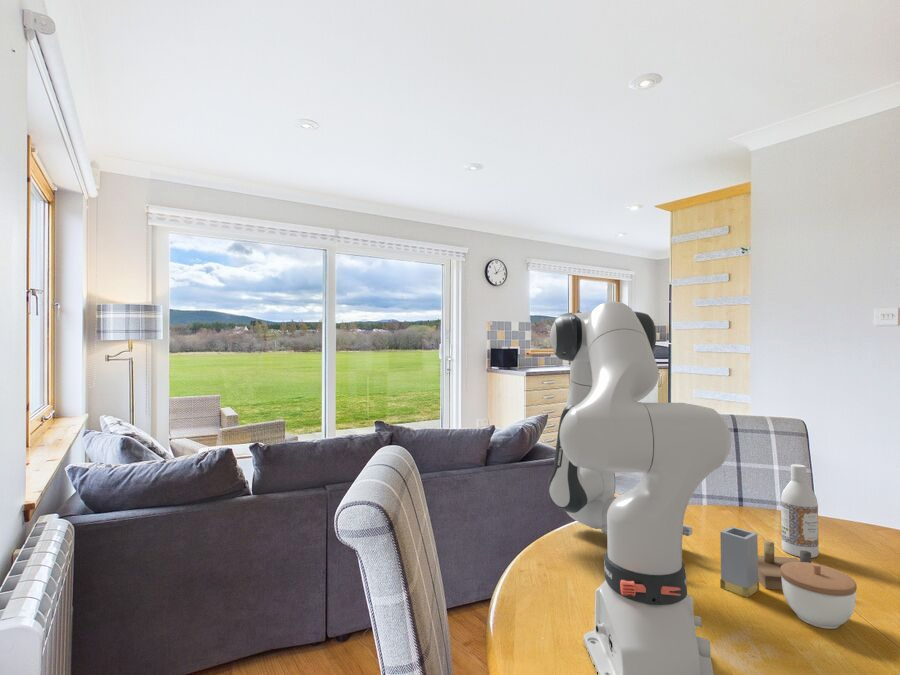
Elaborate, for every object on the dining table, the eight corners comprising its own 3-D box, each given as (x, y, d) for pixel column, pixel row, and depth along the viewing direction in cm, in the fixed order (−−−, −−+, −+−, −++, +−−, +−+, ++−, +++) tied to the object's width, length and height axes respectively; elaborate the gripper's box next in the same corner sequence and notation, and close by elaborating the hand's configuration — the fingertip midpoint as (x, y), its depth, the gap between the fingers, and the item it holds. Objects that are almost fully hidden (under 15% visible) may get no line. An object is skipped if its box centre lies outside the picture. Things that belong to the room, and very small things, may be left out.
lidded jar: (784, 597, 94) (783, 547, 94) (857, 616, 87) (856, 563, 88) (777, 621, 86) (776, 567, 86) (857, 645, 79) (856, 586, 79)
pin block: (822, 593, 96) (822, 559, 96) (765, 588, 98) (764, 555, 98) (797, 569, 105) (796, 539, 105) (745, 566, 107) (745, 536, 107)
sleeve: (747, 597, 94) (746, 539, 94) (720, 587, 98) (719, 531, 98) (759, 589, 97) (758, 533, 97) (732, 580, 101) (731, 526, 101)
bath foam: (799, 559, 110) (797, 469, 111) (774, 547, 117) (773, 462, 117) (826, 557, 111) (825, 468, 112) (800, 545, 118) (799, 461, 118)
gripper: (596, 515, 113) (652, 533, 101) (647, 497, 125) (702, 512, 114) (596, 542, 112) (652, 564, 101) (647, 522, 125) (702, 540, 113)
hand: (679, 537), depth 108 cm, fingers open, 8 cm apart
